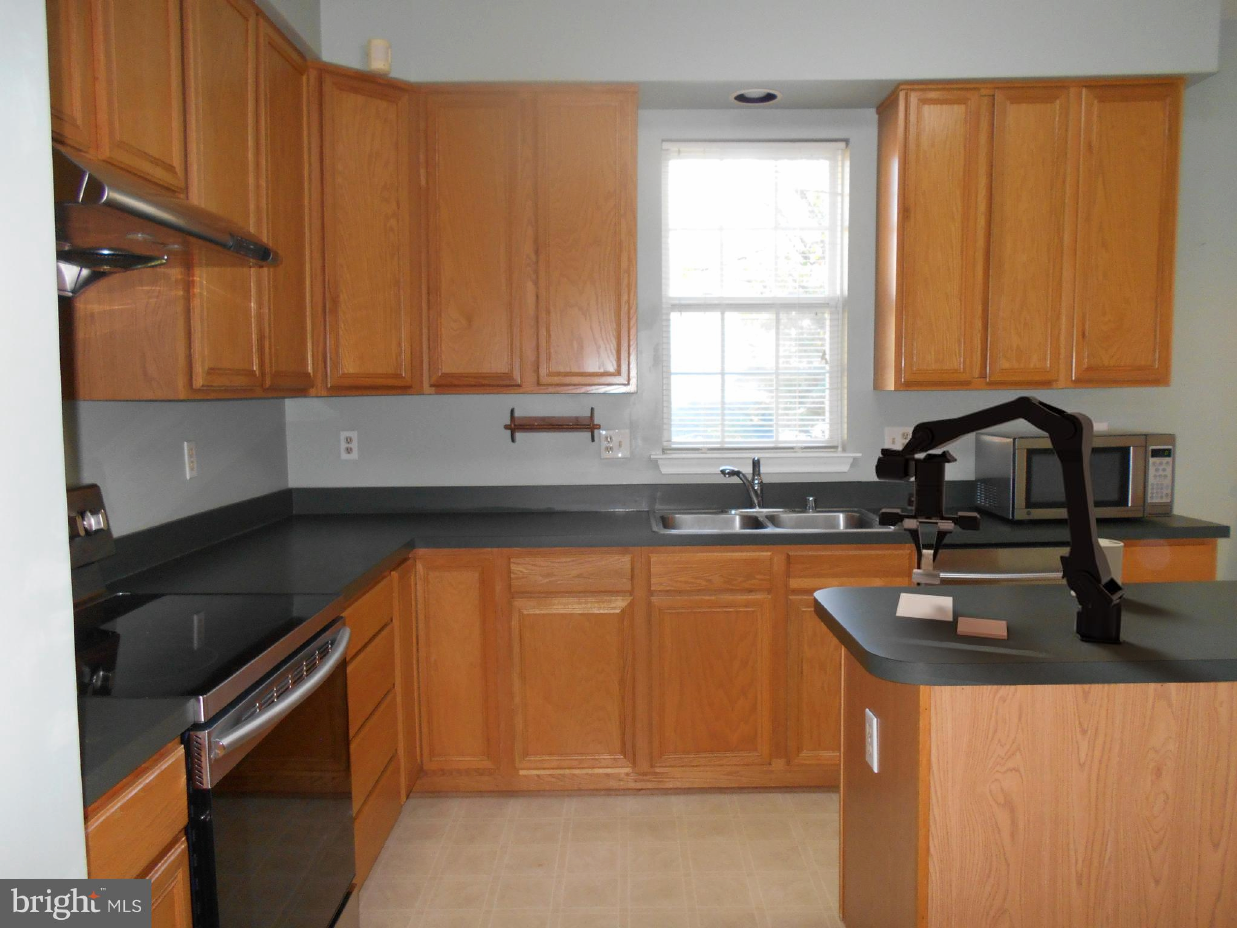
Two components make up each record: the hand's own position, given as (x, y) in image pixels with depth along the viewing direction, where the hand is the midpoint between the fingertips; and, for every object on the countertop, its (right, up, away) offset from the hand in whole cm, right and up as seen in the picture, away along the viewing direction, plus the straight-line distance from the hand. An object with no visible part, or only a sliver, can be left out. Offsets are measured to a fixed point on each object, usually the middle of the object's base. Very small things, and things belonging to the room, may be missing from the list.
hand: (927, 561), depth 171 cm
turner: (-1, -2, -2) cm, 3 cm away
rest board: (-1, -9, -2) cm, 10 cm away
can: (+38, -8, +8) cm, 40 cm away
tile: (+5, -10, -13) cm, 17 cm away
